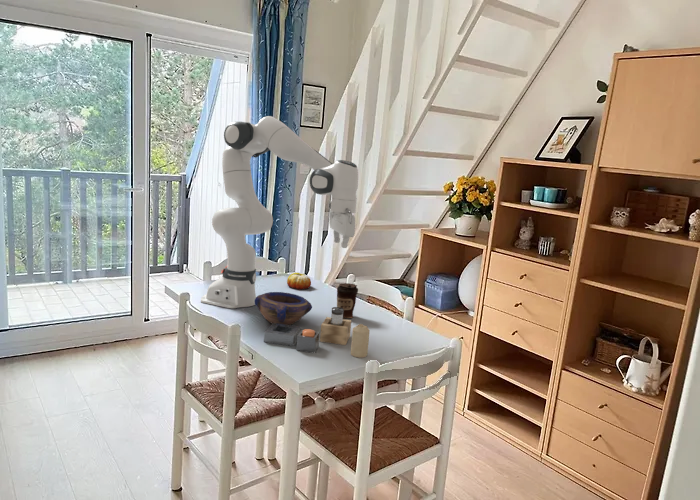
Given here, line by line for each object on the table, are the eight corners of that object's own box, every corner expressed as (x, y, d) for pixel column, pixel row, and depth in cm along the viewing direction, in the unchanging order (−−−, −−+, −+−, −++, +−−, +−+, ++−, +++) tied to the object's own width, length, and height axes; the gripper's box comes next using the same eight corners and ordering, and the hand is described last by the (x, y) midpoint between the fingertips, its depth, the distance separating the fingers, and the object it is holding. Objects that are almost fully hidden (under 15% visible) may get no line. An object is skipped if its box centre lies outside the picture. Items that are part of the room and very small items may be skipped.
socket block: (263, 341, 177) (264, 332, 176) (272, 332, 187) (273, 322, 186) (292, 346, 175) (293, 336, 175) (300, 336, 185) (301, 326, 184)
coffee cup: (353, 321, 206) (356, 289, 203) (332, 318, 207) (335, 286, 205) (357, 314, 214) (360, 283, 212) (337, 311, 216) (340, 281, 213)
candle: (349, 350, 176) (352, 322, 174) (366, 351, 176) (369, 323, 174) (351, 357, 170) (353, 327, 168) (368, 358, 171) (371, 328, 169)
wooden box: (319, 341, 182) (321, 324, 180) (325, 332, 190) (326, 317, 189) (345, 345, 180) (347, 328, 179) (350, 336, 189) (351, 320, 188)
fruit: (285, 288, 242) (286, 271, 242) (287, 289, 252) (288, 272, 253) (310, 290, 242) (311, 272, 243) (310, 290, 253) (311, 273, 253)
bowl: (316, 324, 198) (318, 299, 196) (277, 333, 186) (279, 306, 184) (287, 311, 211) (288, 287, 209) (248, 319, 198) (250, 293, 196)
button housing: (296, 350, 172) (297, 335, 171) (301, 343, 178) (302, 329, 177) (314, 352, 171) (315, 338, 170) (318, 346, 177) (319, 332, 176)
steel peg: (330, 341, 183) (333, 310, 181) (328, 336, 187) (330, 306, 185) (342, 341, 184) (344, 310, 182) (339, 336, 188) (342, 307, 186)
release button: (300, 345, 173) (301, 332, 172) (303, 341, 177) (304, 328, 176) (312, 347, 172) (313, 334, 171) (315, 342, 176) (316, 330, 175)
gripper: (361, 211, 180) (357, 251, 183) (343, 203, 199) (340, 240, 202) (343, 210, 178) (340, 250, 181) (327, 203, 197) (324, 239, 200)
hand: (340, 245), depth 191 cm, fingers open, 8 cm apart
